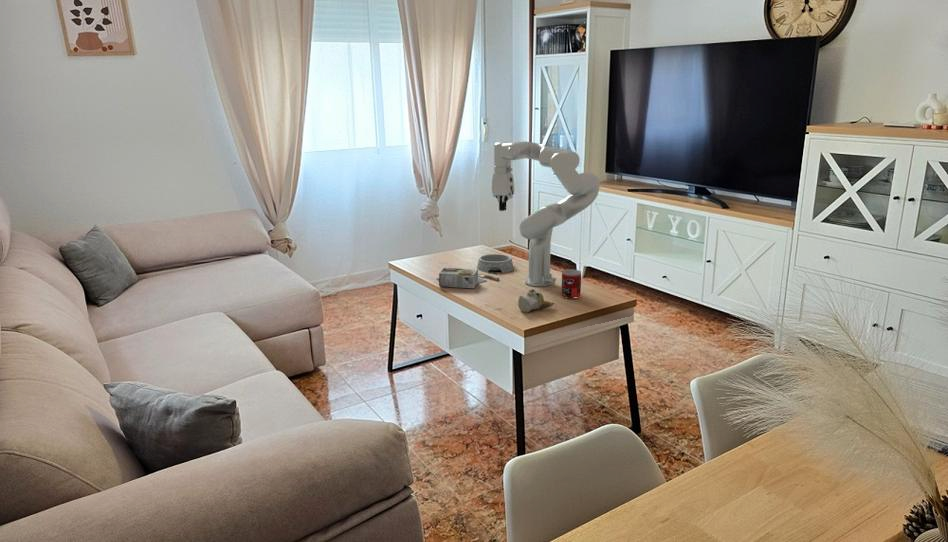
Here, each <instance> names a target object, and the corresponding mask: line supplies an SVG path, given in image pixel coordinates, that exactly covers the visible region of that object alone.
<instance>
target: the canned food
mask: <svg viewBox="0 0 948 542" xmlns="http://www.w3.org/2000/svg"><path fill="white" fill-rule="evenodd" d="M561 272H562V273H561V297H562V296H563V297H567V298H574V297H579V296H580V297H581V291H582V271H581V270H579V269H572V268H571V269H570V268H569V269H563V270H562V271H561ZM563 297H562V298H563ZM580 297H579V298H580Z"/></svg>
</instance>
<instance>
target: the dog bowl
mask: <svg viewBox="0 0 948 542" xmlns="http://www.w3.org/2000/svg"><path fill="white" fill-rule="evenodd" d="M512 259H513V258H512V257H511V255H508V254H502V253H488V254H483V255H481V256H479V257H478V261H477V265H476V269H478V271H480V272H483V273H484V272H485V273H489V271H501V273H507V272H510V271H512V270H513V269H514V267H515V266H514V263H513V260H512Z"/></svg>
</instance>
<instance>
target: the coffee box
mask: <svg viewBox="0 0 948 542" xmlns="http://www.w3.org/2000/svg"><path fill="white" fill-rule="evenodd" d="M478 272H479V270H478V269H477V268H475V269H473V268H471V269H470V268H458V267H457V268H453V267H451V268H450V267H444V268H443V269H442V270H441V271H440V272H439V273H438V278H439V280H438V285H439V287H444V288H445V287H447V288H448V287H449V288H461V289H475V287H476V286H477V285H478V284H477V283H478V278H479V277H478Z"/></svg>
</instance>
